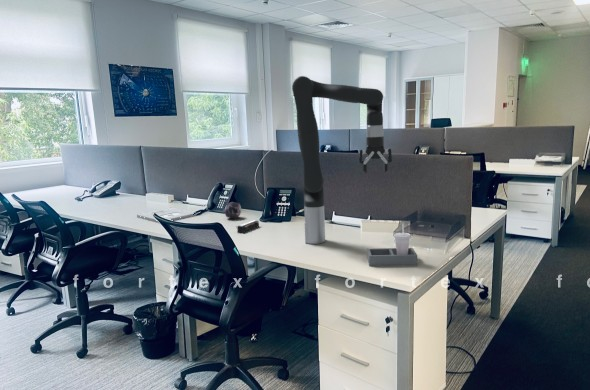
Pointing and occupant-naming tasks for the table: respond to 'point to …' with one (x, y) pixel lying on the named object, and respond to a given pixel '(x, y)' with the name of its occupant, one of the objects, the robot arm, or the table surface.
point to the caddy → (390, 257)
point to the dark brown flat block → (247, 226)
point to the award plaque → (167, 214)
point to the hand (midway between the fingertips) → (375, 172)
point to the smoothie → (402, 242)
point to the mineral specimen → (232, 210)
